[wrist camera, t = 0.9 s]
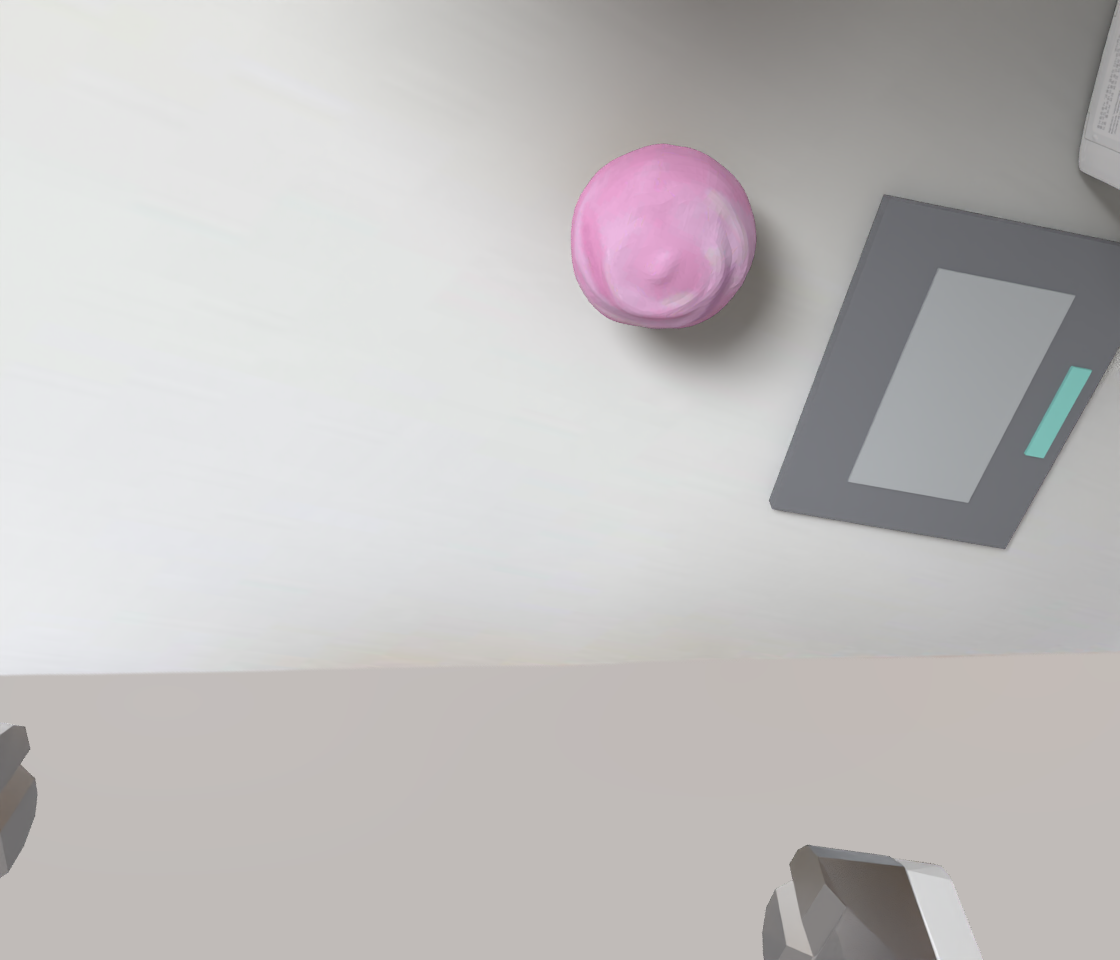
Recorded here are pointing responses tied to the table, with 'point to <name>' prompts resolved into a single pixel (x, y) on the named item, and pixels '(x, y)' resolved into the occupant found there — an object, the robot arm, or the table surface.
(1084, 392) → the charging mat
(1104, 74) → the photo printer
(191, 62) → the table surface
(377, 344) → the table surface
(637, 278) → the cupcake
